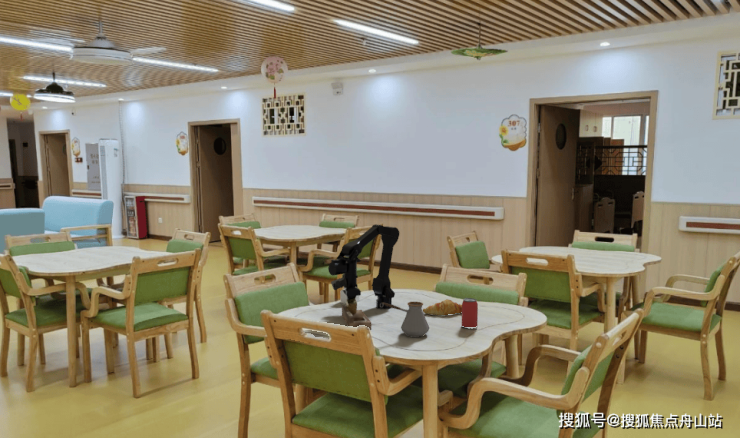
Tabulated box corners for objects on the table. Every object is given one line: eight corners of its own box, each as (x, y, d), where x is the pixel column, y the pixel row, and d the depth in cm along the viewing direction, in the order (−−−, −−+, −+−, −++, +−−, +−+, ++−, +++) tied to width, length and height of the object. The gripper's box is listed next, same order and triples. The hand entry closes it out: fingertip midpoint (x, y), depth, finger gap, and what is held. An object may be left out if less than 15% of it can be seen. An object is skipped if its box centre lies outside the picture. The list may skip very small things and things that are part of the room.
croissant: (424, 323, 254) (426, 310, 250) (419, 308, 263) (421, 295, 258) (469, 320, 258) (471, 307, 253) (463, 305, 266) (465, 292, 261)
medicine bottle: (359, 302, 278) (359, 279, 276) (353, 306, 271) (353, 282, 270) (346, 301, 281) (346, 277, 279) (340, 304, 274) (340, 280, 273)
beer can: (467, 330, 232) (468, 302, 231) (458, 326, 238) (458, 298, 237) (480, 328, 235) (481, 300, 234) (470, 324, 241) (471, 297, 240)
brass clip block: (354, 308, 252) (355, 298, 250) (356, 313, 248) (357, 303, 246) (345, 308, 251) (346, 299, 249) (347, 313, 247) (348, 304, 245)
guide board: (361, 316, 254) (361, 303, 253) (371, 329, 234) (371, 315, 234) (341, 317, 252) (341, 305, 251) (350, 330, 233) (350, 317, 232)
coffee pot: (420, 328, 235) (420, 293, 233) (434, 336, 225) (435, 299, 223) (374, 335, 226) (374, 299, 224) (387, 344, 216) (387, 305, 214)
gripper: (329, 269, 257) (329, 302, 259) (335, 277, 239) (335, 313, 241) (353, 268, 259) (353, 301, 261) (361, 276, 241) (360, 312, 243)
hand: (350, 306), depth 251 cm, fingers closed
